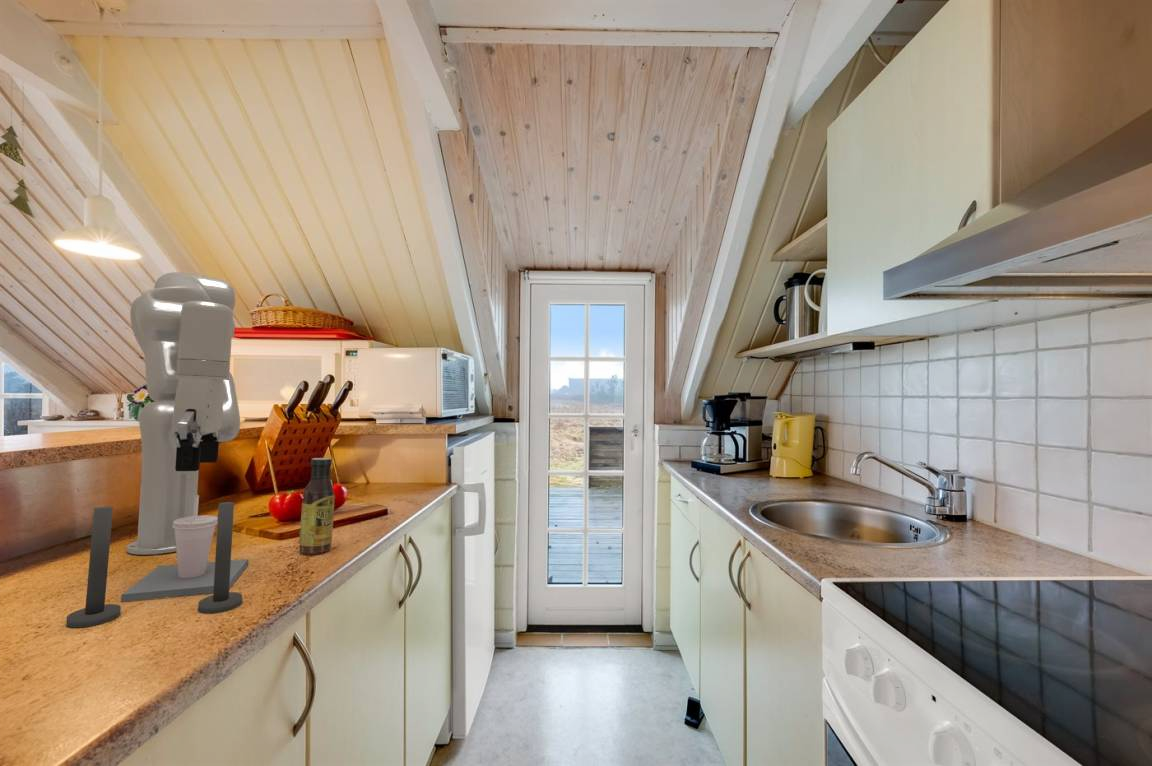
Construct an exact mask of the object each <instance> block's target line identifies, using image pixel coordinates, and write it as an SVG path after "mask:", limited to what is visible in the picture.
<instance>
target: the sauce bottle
mask: <svg viewBox="0 0 1152 766" xmlns="http://www.w3.org/2000/svg"><path fill="white" fill-rule="evenodd" d="M332 463H333V459H332V458H331V457H313V458H311V459H310V466H311V473H310V477H309V478H310V480H309V482H308V483H307V485H306V486H305V488H304V489H303V493H302V495H303V496H302V503H301V514H300V515H301V516H300V527H299V539H298V545H299V553H300V554H302V555H317V554H322V553H323V554H324V553H326V552H328V551H329V550H330V549H331V546H332V542H333V530H334V529H333V528H334V527H333V526H334V519H335V518H334V517H335V516H334V515H335V501H336V495H335V494H336V493H335V491H334V488H333V484H332V481H331V466H332V465H333V464H332Z"/></svg>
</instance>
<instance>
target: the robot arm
mask: <svg viewBox="0 0 1152 766" xmlns="http://www.w3.org/2000/svg"><path fill="white" fill-rule="evenodd" d="M235 305H236V293H235V290H234V288H233V286H232V285H231V284H230V283H229V282H228V281H227V280H224V279H221V278H215V277H210V276H204V275H198V274H193V273H187V272H186V273H185V272H167V273H164V274H163V275H161V276H159V277H158V278H157V279H156V281H155V283H154V287H153V288H151V289H148V290H145V291H144V292H143V293H142V294H141V295H140V296H139V297H136V298H135V299H134V300H133V301H132V302H131V307H130V312H129V314H130V316H129V317H130V325H131V329H132V333H133V336H134V338H135V341H136V342H137V344H138V346H139V347H140V349H141V351H142V354H143V355H144V362H145V363H144V364H145V365H144V367H145V382H146V383H145V384H146V391H147V394H148V395H149V398H150V399H151V400H152V401H151V402H149V403H147V404H145V405H144V406H143V407H142V408H141V410H140V413H139V419H138V424H139V431H140V439H141V440H140V441H141V451H142V452H141V455H142V457H141V477H140V489H139V490H140V493H139V507H138V508H139V511H138V522H137V523H138V526H137V539H136V540H135V541H132V542H130V543H129V544H127V545H126V552H127V553H128V554H132V555H139V556H141V555H142V556H143V555H149V556H151V555H161V554H170V553H175V552H176V553H177V550H176V538H175V528H173V527H172V526H173V521H175V520H177V519H180V518H184V517H190V516H194V503H195V495H198V486H199V485H198V484H199V473H200V472H199V470H200V468H201V467H200V464H201V463H202V464H204V463H208V464H209V463H210V464H211V463H212V464H213V463H214V464H215V463H217V462H218V461H219V446H220V444H219V443H220V442H221V443H223V442H229V441H232V440H233V439H235V438H236V437H237V436H238V434H239V432H240V430H241V429H240V428H241V417H240V409H239V403H238V398H237V397H238V396H237V390H236V385H235V384H236V383H235V381H234V376H233V375H232V373H231V371H230V370H231V353H232V352H231V351H232V339H233V338H234V336H235V327H236V326H235V320H234V313H233V311H234V309H235Z"/></svg>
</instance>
